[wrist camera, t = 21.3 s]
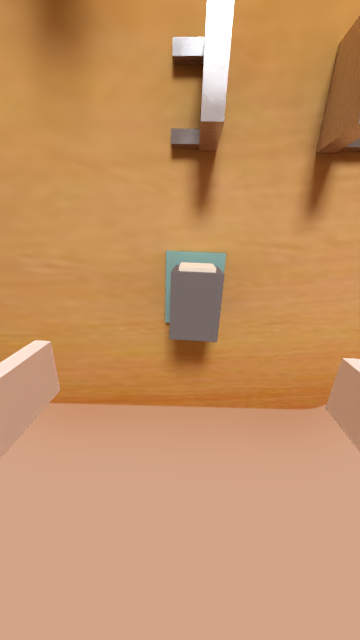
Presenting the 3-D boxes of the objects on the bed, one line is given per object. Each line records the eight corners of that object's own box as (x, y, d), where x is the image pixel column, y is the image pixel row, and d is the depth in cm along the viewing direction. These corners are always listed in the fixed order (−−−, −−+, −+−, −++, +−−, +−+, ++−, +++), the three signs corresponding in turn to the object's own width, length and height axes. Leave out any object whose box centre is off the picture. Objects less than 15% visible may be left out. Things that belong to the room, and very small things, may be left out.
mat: (165, 321, 29) (165, 322, 29) (166, 250, 26) (166, 250, 26) (218, 323, 29) (218, 325, 29) (225, 253, 26) (226, 253, 25)
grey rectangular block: (174, 319, 29) (169, 339, 23) (175, 261, 26) (171, 267, 20) (212, 321, 28) (217, 342, 23) (218, 263, 26) (224, 269, 20)
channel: (171, 149, 23) (164, 120, 17) (173, 43, 20) (166, -34, 14) (363, 153, 22) (422, 124, 16) (393, 43, 19) (477, -39, 13)
